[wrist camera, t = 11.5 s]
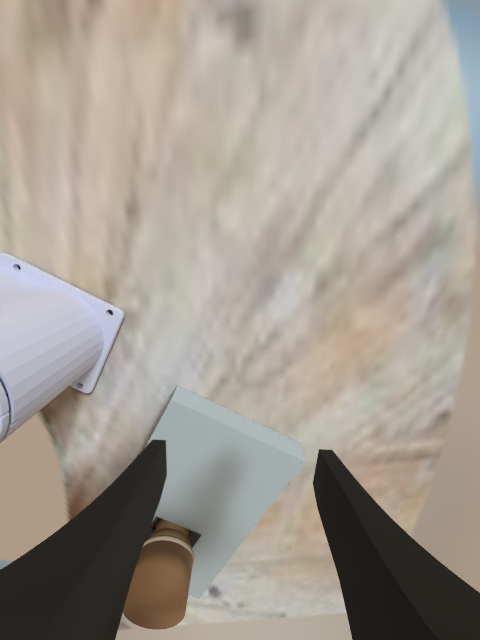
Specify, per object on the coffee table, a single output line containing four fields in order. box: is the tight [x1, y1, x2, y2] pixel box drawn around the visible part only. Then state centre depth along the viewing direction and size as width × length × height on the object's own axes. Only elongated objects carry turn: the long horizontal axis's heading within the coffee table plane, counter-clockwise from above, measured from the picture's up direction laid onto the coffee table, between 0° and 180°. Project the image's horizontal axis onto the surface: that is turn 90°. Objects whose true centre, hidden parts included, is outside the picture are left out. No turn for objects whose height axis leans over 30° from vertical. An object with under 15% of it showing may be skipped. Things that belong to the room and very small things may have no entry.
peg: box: [123, 518, 194, 629], centre depth 23 cm, size 5×5×7 cm
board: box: [144, 386, 305, 598], centre depth 24 cm, size 12×20×2 cm, turn 152°
